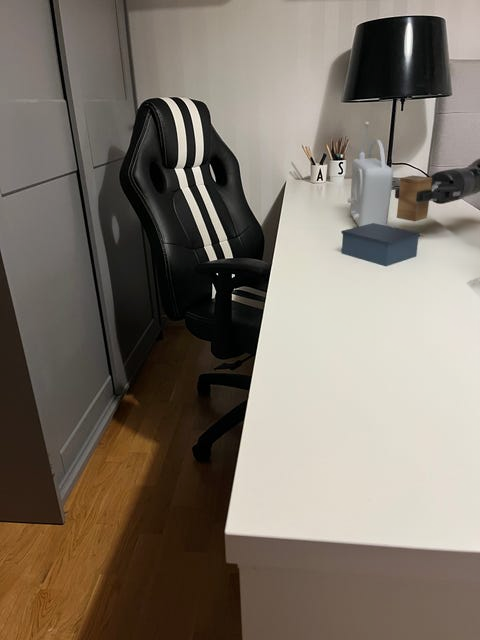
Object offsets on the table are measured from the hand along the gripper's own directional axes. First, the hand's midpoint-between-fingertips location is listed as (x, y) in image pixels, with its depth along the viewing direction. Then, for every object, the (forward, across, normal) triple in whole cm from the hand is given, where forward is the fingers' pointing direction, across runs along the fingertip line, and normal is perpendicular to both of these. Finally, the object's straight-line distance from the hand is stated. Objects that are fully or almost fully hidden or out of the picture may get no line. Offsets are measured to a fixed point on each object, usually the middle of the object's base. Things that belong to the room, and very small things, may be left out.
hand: (407, 195), depth 111 cm
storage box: (+11, +2, +11) cm, 16 cm away
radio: (-9, -19, +11) cm, 24 cm away
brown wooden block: (-3, 0, +6) cm, 6 cm away
